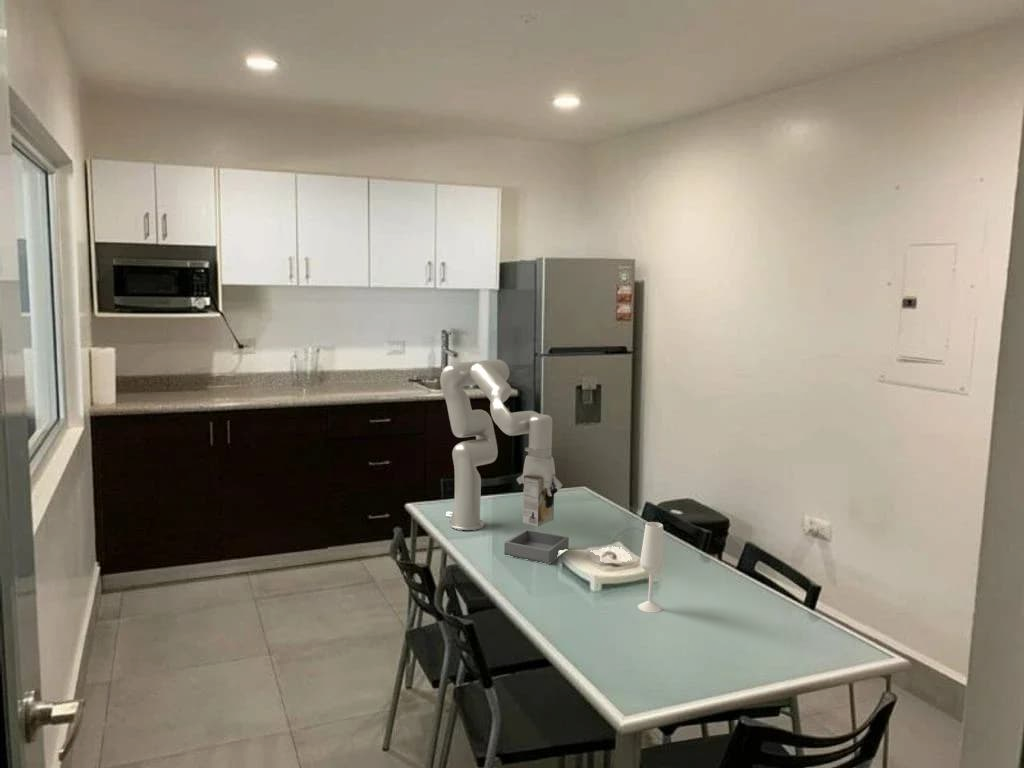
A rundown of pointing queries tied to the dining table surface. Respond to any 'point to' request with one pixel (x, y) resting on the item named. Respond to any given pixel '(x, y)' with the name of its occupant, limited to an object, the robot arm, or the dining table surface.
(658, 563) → the champagne flute
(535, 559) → the box
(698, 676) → the dining table surface
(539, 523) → the coffee box
